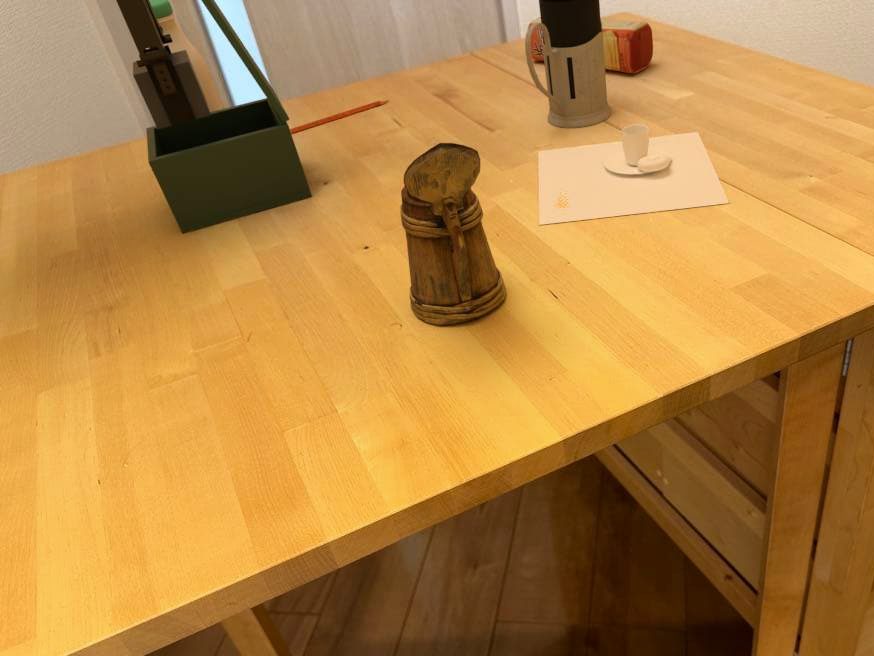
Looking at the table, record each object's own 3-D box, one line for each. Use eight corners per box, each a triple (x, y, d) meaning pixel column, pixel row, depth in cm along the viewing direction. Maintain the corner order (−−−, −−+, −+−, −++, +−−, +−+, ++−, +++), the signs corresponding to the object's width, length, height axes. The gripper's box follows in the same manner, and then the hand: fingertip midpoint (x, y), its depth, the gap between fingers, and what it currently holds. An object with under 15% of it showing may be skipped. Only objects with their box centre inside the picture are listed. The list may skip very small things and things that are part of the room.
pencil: (280, 136, 113) (279, 132, 112) (389, 101, 119) (388, 97, 119) (282, 138, 112) (280, 133, 112) (391, 102, 118) (390, 98, 118)
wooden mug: (432, 364, 64) (377, 159, 53) (403, 288, 74) (352, 102, 63) (532, 335, 66) (500, 129, 54) (490, 265, 76) (456, 78, 64)
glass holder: (623, 106, 105) (616, -15, 95) (567, 147, 96) (554, 18, 87) (569, 100, 109) (558, -16, 99) (511, 139, 101) (493, 16, 91)
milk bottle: (243, 153, 109) (185, -1, 96) (189, 169, 106) (122, 14, 94) (232, 138, 114) (175, -9, 101) (180, 154, 112) (115, 5, 99)
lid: (185, -24, 77) (259, -68, 77) (179, -41, 86) (245, -80, 87) (284, 123, 88) (348, 84, 89) (269, 94, 98) (327, 59, 98)
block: (157, 129, 86) (132, 75, 83) (156, 114, 91) (132, 62, 87) (211, 115, 88) (189, 61, 84) (207, 101, 92) (186, 49, 88)
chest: (182, 233, 91) (148, 161, 85) (176, 195, 100) (146, 128, 94) (312, 196, 94) (288, 125, 89) (295, 162, 104) (272, 96, 98)
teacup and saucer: (677, 176, 86) (676, 141, 83) (606, 184, 86) (604, 149, 84) (666, 146, 93) (666, 112, 90) (601, 154, 93) (598, 121, 91)
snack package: (526, 63, 125) (520, 19, 120) (552, 51, 128) (548, 7, 124) (631, 79, 113) (629, 30, 108) (657, 65, 116) (656, 16, 112)
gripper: (119, -127, 68) (221, 128, 83) (121, -136, 82) (208, 85, 97) (30, -111, 66) (150, 147, 81) (47, -123, 80) (147, 100, 95)
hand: (181, 112), depth 89 cm, fingers closed on block, 6 cm apart
